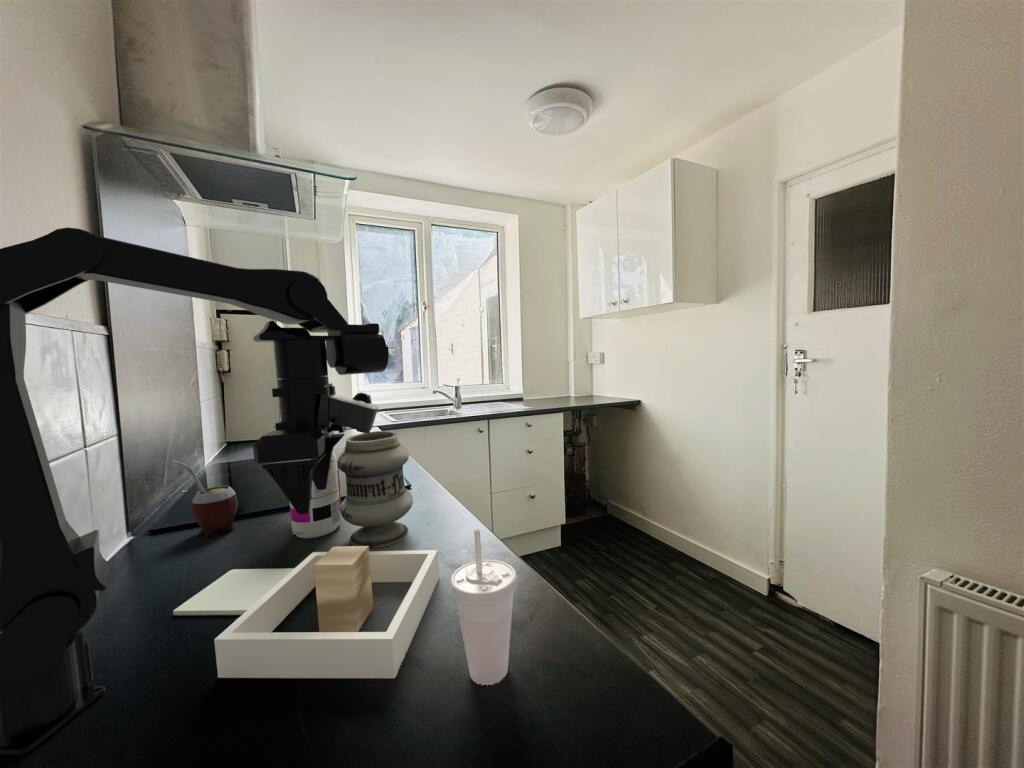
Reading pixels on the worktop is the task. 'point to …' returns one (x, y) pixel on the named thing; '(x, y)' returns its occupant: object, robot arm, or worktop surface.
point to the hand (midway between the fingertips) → (313, 500)
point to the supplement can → (320, 509)
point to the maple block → (343, 589)
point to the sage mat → (233, 592)
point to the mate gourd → (213, 506)
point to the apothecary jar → (375, 488)
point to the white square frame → (327, 654)
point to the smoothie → (485, 614)
